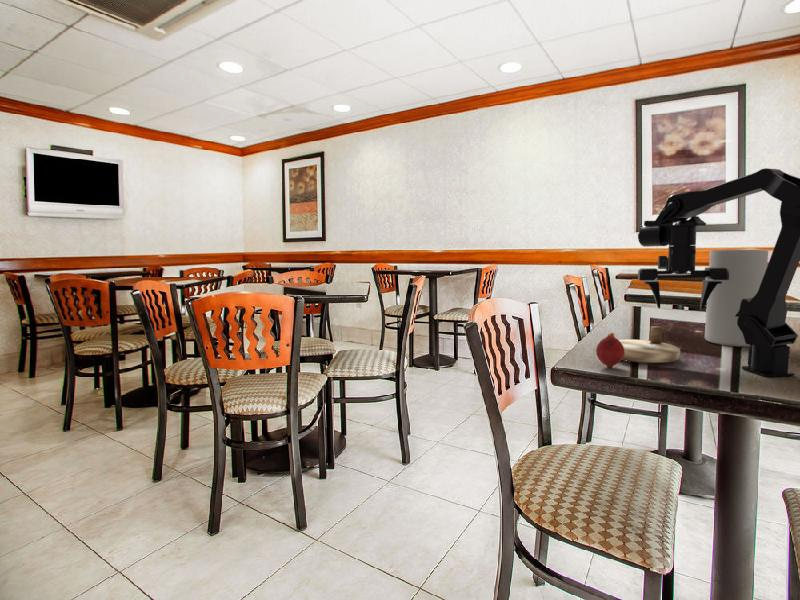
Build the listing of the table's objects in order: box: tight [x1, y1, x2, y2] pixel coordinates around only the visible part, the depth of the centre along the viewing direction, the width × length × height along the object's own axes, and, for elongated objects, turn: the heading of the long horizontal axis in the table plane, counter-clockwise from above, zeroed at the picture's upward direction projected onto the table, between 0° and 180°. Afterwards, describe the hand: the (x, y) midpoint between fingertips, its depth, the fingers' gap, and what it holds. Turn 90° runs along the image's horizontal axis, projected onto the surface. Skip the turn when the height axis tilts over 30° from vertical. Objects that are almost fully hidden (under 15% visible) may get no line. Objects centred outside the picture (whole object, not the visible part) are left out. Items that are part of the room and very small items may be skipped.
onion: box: [595, 332, 624, 368], centre depth 103 cm, size 6×6×8 cm
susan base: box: [622, 359, 668, 365], centre depth 112 cm, size 12×12×1 cm
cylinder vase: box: [704, 249, 769, 348], centre depth 124 cm, size 12×12×25 cm
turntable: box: [618, 325, 681, 363], centre depth 111 cm, size 16×16×6 cm
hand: (679, 308), depth 114 cm, fingers open, 9 cm apart
